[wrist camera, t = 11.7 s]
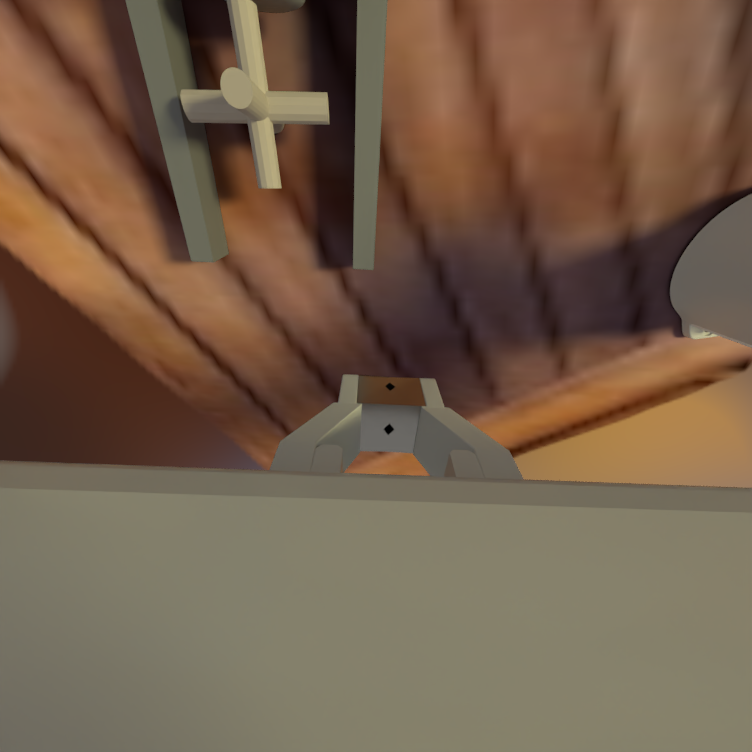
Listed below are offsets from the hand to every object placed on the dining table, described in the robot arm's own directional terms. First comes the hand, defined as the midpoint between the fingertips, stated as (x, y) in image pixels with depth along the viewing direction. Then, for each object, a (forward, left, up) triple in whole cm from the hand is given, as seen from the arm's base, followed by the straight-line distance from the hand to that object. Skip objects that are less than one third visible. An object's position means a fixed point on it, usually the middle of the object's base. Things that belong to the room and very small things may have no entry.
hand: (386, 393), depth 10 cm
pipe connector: (+9, -10, -27) cm, 30 cm away
